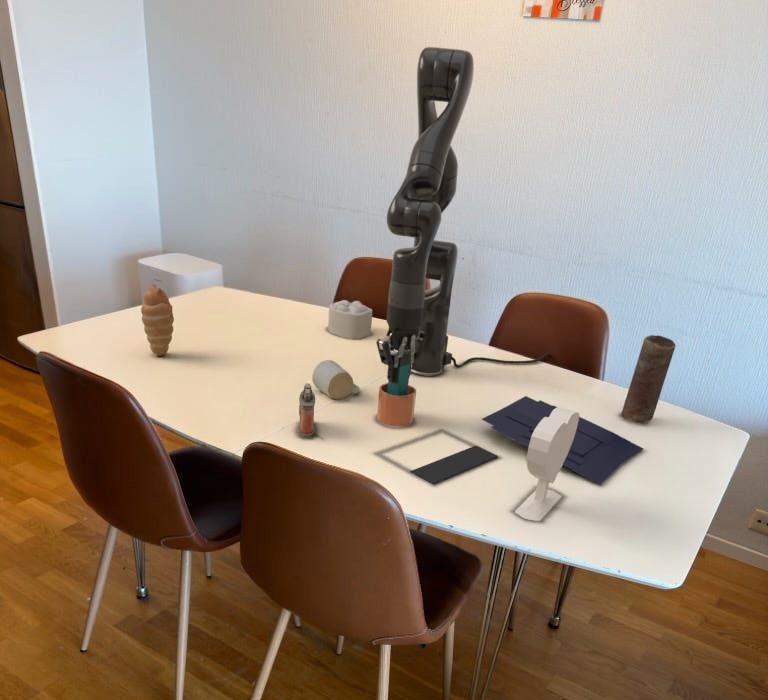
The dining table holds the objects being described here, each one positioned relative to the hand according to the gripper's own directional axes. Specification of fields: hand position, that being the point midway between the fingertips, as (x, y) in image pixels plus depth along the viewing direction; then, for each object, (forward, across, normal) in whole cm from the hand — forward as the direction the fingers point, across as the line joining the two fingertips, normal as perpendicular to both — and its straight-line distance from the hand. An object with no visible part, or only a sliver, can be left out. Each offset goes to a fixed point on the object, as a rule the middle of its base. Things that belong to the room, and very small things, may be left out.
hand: (398, 380), depth 157 cm
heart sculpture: (+10, -4, -43) cm, 44 cm away
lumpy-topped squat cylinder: (+10, +34, +55) cm, 65 cm away
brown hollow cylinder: (+10, +51, -33) cm, 62 cm away
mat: (+10, -5, -18) cm, 21 cm away
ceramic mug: (+10, -1, +19) cm, 21 cm away
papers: (+10, +22, -30) cm, 39 cm away
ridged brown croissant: (+10, -23, +64) cm, 69 cm away
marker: (+8, 0, 0) cm, 8 cm away
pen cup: (+10, 0, 0) cm, 10 cm away
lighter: (+10, -20, +7) cm, 23 cm away
